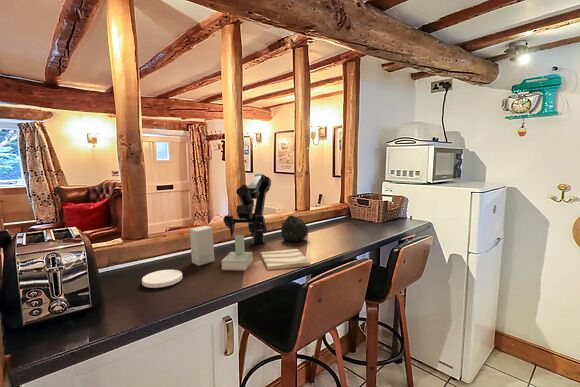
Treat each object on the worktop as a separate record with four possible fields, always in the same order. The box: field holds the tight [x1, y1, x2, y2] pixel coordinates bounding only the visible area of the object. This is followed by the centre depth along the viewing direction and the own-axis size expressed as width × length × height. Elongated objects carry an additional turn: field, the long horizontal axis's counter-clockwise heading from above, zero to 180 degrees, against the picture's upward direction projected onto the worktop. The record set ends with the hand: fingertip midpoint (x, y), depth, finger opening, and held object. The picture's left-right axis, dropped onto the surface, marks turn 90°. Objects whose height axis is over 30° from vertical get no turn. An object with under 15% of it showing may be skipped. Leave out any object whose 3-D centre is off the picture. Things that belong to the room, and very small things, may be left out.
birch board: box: [260, 248, 311, 271], centre depth 138 cm, size 20×18×2 cm
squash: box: [280, 214, 309, 243], centre depth 172 cm, size 14×15×15 cm
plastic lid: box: [141, 269, 183, 289], centre depth 116 cm, size 14×14×2 cm
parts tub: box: [221, 255, 254, 271], centre depth 133 cm, size 12×10×3 cm
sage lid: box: [221, 234, 253, 264], centre depth 132 cm, size 12×10×10 cm
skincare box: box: [189, 225, 216, 266], centre depth 137 cm, size 8×7×16 cm
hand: (241, 236), depth 139 cm, fingers open, 9 cm apart
